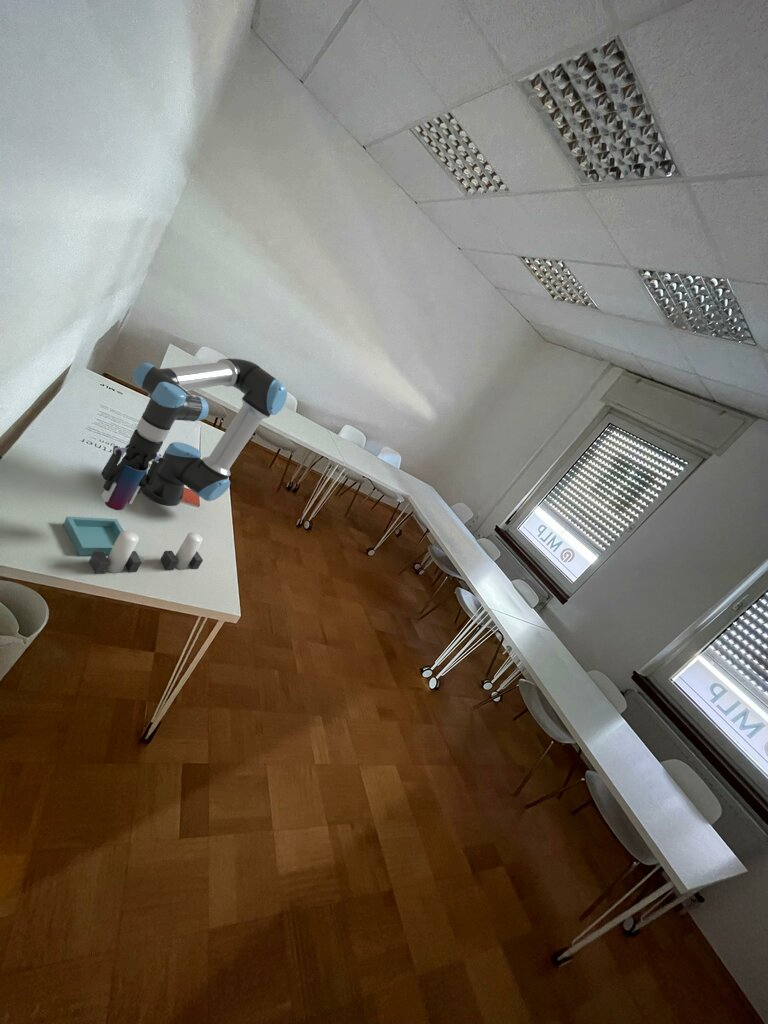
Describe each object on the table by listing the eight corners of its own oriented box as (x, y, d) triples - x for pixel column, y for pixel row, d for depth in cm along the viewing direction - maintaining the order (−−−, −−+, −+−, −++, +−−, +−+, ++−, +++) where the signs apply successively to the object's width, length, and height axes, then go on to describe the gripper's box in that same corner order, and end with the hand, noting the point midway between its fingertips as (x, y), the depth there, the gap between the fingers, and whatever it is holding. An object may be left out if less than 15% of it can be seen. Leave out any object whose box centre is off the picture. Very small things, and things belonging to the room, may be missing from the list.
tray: (112, 526, 137) (116, 519, 136) (129, 555, 131) (133, 547, 130) (62, 524, 125) (66, 516, 124) (78, 556, 119) (82, 547, 118)
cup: (131, 506, 128) (151, 467, 124) (119, 515, 122) (141, 473, 118) (109, 495, 126) (129, 454, 122) (96, 503, 120) (117, 460, 116)
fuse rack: (191, 559, 147) (206, 532, 144) (197, 568, 145) (213, 542, 142) (88, 562, 119) (105, 529, 116) (94, 574, 117) (111, 541, 114)
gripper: (175, 435, 127) (143, 495, 133) (108, 419, 111) (76, 488, 117) (186, 449, 124) (153, 510, 130) (119, 434, 107) (85, 505, 114)
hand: (116, 499), depth 123 cm, fingers closed on cup, 6 cm apart
